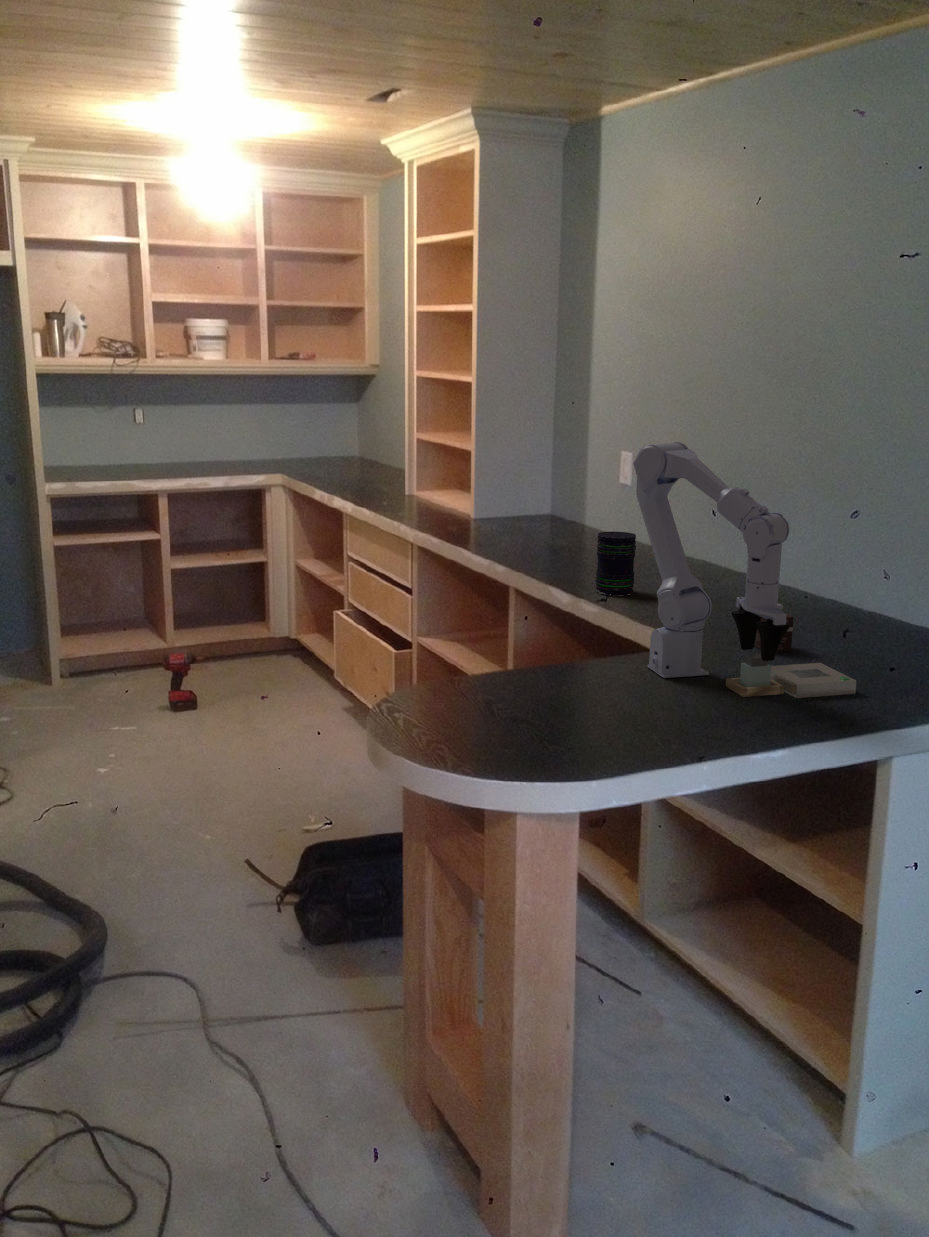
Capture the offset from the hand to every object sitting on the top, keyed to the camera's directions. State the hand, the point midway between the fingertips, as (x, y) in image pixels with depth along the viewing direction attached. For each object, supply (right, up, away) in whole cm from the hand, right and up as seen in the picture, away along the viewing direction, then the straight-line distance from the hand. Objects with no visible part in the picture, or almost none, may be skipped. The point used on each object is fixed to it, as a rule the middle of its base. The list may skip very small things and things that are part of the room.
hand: (757, 654), depth 201 cm
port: (+11, -6, +4) cm, 13 cm away
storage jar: (-15, +13, +82) cm, 85 cm away
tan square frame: (0, -7, +2) cm, 7 cm away
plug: (0, -7, +2) cm, 7 cm away
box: (+11, 0, +31) cm, 32 cm away
